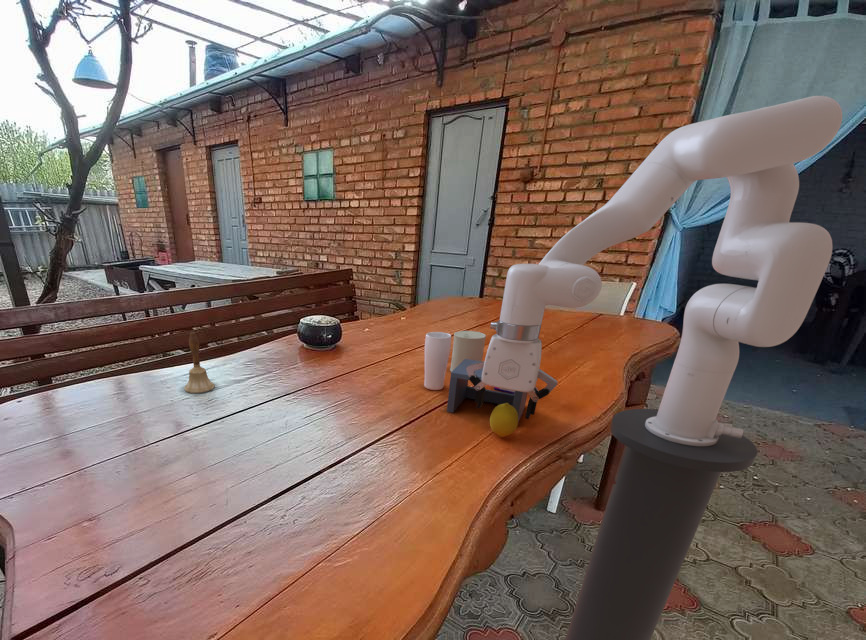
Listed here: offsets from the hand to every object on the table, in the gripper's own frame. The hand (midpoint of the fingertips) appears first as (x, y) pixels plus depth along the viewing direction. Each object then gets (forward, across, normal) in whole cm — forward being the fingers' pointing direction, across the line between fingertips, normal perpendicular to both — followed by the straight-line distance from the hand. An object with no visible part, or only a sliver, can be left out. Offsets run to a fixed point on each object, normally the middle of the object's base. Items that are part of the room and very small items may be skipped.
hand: (503, 411), depth 89 cm
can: (+6, -18, +39) cm, 43 cm away
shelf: (+6, -6, +13) cm, 16 cm away
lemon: (+6, 0, 0) cm, 6 cm away
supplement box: (+6, -4, +30) cm, 31 cm away
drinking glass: (+6, -22, +21) cm, 31 cm away
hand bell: (+8, -78, -12) cm, 80 cm away
